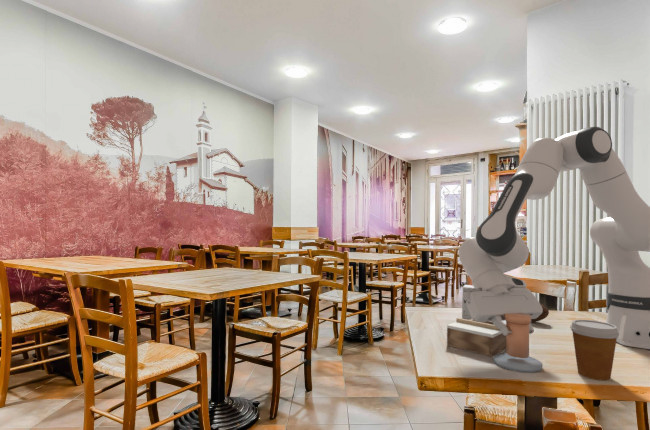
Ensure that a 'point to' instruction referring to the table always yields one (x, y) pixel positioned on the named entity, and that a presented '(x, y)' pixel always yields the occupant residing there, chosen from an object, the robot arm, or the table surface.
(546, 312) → the potato
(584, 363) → the disposable coffee cup
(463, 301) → the supplement box
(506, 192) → the robot arm
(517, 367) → the saucer
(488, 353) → the wooden box
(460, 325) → the lid panel
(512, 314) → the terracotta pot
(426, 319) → the table surface
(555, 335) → the table surface
